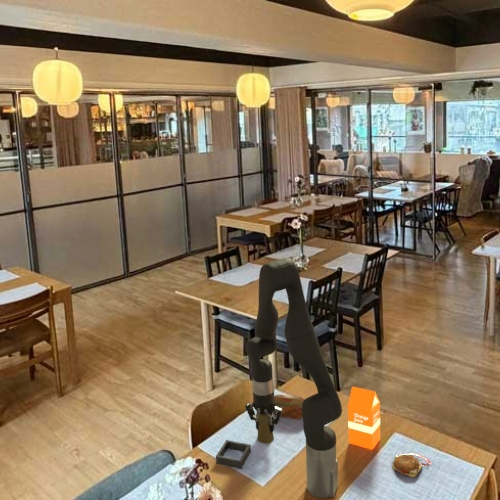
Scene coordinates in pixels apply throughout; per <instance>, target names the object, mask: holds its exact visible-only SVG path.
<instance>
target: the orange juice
mask: <svg viewBox="0 0 500 500" xmlns="http://www.w3.org/2000/svg"><path fill="white" fill-rule="evenodd" d="M347 413H348V415H347V418H348V421H347V423H348V425H347V426H348V427H347V428H348V443H349V444H350V445H354V446H356V447H361V448H365V449H368V450H371V451H372V450H373V449H374V448H375V447H376V446H377V445H378V443H379V441H381V402H380V399H379V398H378V395H377V392H376V391H374V390H369V389H366V388H361V387H355V386H352V387H351V391H350V395H349V399H348V404H347Z"/></svg>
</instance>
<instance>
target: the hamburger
mask: <svg viewBox="0 0 500 500" xmlns="http://www.w3.org/2000/svg"><path fill="white" fill-rule="evenodd" d="M404 453H405V454H402V453H400V454H401V455H399V454H397V455H396V456H395V457H394V458H393V459H394V460H393V462H392V469H393V470H395V471H397V472H398V473H399V474H401V475H404V476H408V477H410V478H413V477H414V478H416V476H417V475H418V474H419V472H420V471H421V469H422V468H423V467H422V466H421V464H422V465H424V467H430V465H431V464H432V462H431V461H430V460H429V458H427V457H425V456H423V455H420V454H417V453H413V452H408V453H409V454H406V453H407V452H404ZM398 455H399V456H398ZM417 457H419V458H421V459H423V460H425V461H426V462H427V463H424V462H420V459H418V458H417ZM426 465H427V466H426ZM428 465H429V466H428Z"/></svg>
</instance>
